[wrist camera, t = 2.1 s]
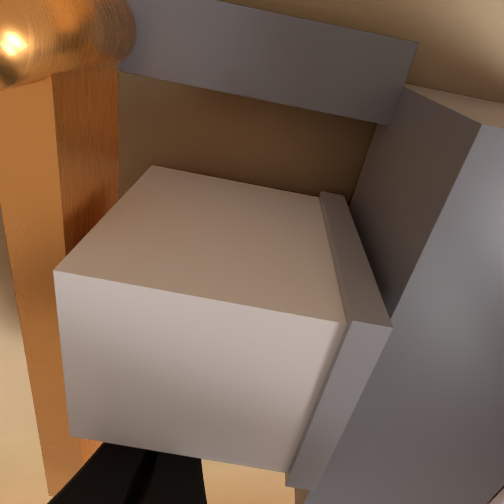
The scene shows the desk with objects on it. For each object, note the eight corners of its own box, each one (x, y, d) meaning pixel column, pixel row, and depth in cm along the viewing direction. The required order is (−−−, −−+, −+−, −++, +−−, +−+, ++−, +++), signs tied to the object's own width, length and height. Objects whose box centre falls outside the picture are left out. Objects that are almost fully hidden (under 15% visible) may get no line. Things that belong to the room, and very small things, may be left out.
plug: (418, 209, 10) (526, 352, 6) (363, 334, 12) (410, 507, 8) (152, 157, 10) (46, 264, 5) (145, 293, 12) (66, 449, 8)
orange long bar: (61, -26, 7) (-125, -72, 4) (137, -11, 7) (17, -42, 4) (87, 405, 13) (24, 528, 10) (127, 412, 13) (78, 537, 10)
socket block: (580, 77, 9) (841, 122, 5) (400, 398, 14) (447, 546, 10) (83, -27, 8) (-105, -78, 4) (96, 345, 14) (20, 475, 10)
